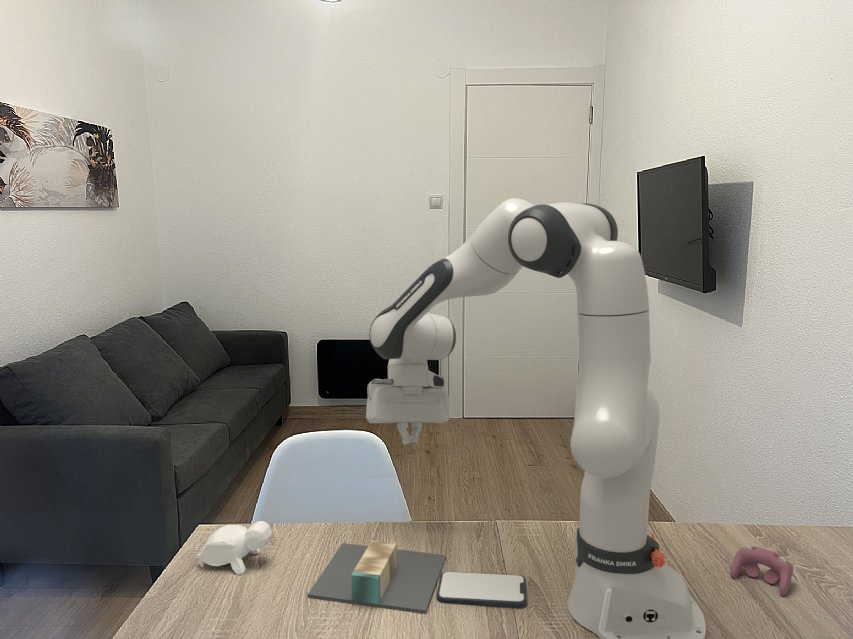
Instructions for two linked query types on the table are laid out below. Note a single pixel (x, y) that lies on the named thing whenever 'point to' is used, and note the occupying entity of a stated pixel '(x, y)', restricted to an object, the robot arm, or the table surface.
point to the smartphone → (482, 589)
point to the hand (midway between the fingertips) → (410, 444)
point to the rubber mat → (404, 589)
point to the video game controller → (758, 555)
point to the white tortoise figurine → (234, 545)
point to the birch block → (374, 572)
